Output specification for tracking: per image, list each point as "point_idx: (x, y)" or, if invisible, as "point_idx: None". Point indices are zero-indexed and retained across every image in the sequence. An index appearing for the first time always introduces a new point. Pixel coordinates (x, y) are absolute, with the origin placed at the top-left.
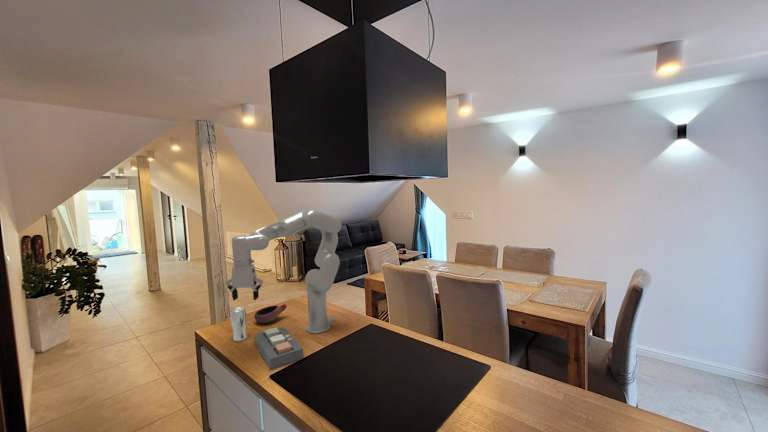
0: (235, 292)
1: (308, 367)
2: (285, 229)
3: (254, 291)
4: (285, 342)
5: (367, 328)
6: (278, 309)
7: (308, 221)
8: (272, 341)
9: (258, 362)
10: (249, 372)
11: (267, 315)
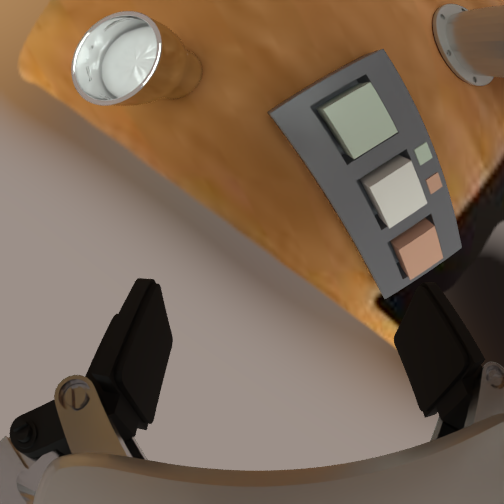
0: (144, 394)
1: (449, 269)
2: None
3: (438, 409)
4: (429, 233)
5: None
6: None
7: None
8: (388, 223)
9: (333, 247)
10: (322, 291)
11: None
